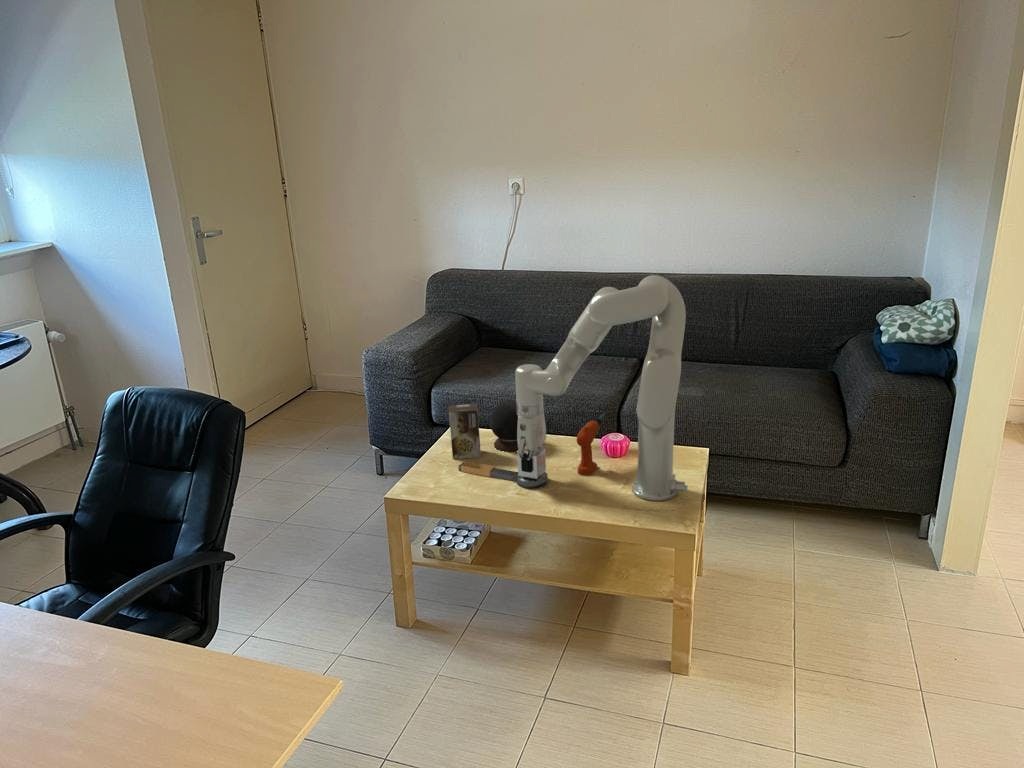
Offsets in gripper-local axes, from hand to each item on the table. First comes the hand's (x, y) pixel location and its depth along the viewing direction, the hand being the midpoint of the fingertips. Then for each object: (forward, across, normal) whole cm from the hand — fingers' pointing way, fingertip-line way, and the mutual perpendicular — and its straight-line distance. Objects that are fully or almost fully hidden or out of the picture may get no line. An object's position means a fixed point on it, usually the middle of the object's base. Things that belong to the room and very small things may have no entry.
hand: (532, 466), depth 210 cm
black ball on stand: (+5, +22, +18) cm, 29 cm away
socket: (+2, 0, 0) cm, 2 cm away
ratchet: (+5, 0, +10) cm, 11 cm away
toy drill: (+5, +18, -12) cm, 22 cm away
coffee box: (+5, +10, +28) cm, 30 cm away
